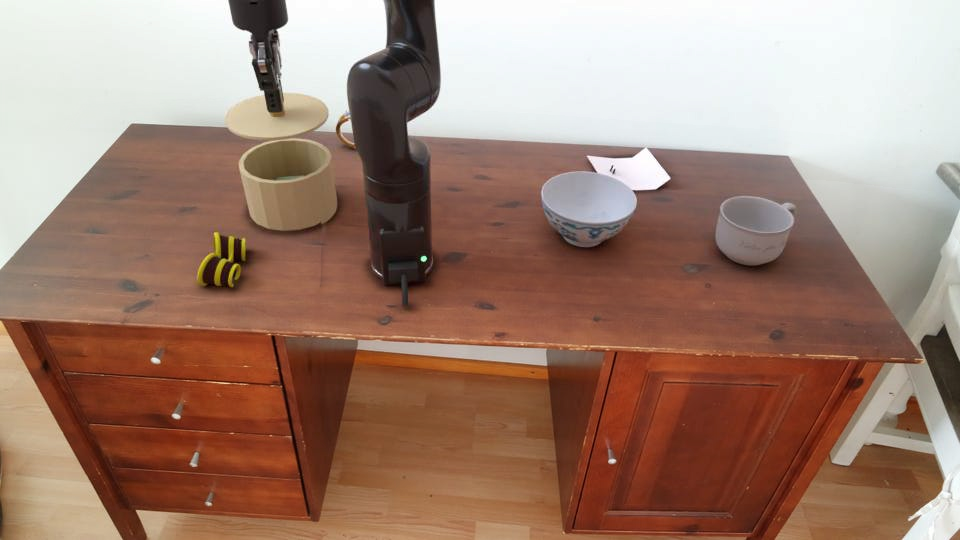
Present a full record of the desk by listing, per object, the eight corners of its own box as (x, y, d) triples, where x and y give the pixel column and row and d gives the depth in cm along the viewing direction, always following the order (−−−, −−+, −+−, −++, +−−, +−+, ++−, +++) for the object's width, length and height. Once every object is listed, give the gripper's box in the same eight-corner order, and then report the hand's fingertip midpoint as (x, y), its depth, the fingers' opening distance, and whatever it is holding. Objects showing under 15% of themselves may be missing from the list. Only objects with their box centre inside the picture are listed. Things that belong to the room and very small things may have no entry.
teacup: (732, 279, 100) (747, 236, 95) (696, 238, 109) (708, 197, 103) (809, 266, 104) (827, 224, 99) (768, 227, 112) (783, 187, 107)
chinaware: (646, 252, 105) (655, 212, 100) (562, 271, 101) (568, 231, 96) (599, 203, 116) (606, 165, 111) (522, 219, 111) (525, 180, 106)
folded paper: (585, 160, 128) (587, 151, 126) (644, 156, 130) (646, 147, 128) (606, 193, 118) (608, 184, 117) (669, 188, 121) (671, 179, 119)
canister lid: (328, 141, 97) (324, 103, 93) (220, 147, 95) (210, 109, 91) (329, 97, 109) (325, 62, 105) (232, 101, 106) (224, 65, 103)
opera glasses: (235, 296, 95) (235, 270, 92) (197, 292, 94) (196, 265, 91) (249, 255, 103) (250, 230, 100) (214, 251, 102) (213, 225, 99)
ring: (375, 145, 130) (372, 108, 125) (371, 153, 127) (368, 115, 122) (341, 142, 130) (337, 105, 125) (336, 150, 128) (332, 112, 123)
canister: (337, 229, 107) (331, 179, 101) (245, 236, 105) (233, 185, 99) (337, 183, 118) (331, 136, 112) (253, 188, 116) (243, 140, 110)
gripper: (232, -26, 94) (254, 89, 105) (219, 5, 83) (246, 129, 94) (286, -26, 95) (303, 87, 106) (280, 4, 85) (299, 127, 95)
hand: (276, 106), depth 100 cm, fingers closed on canister lid, 2 cm apart
